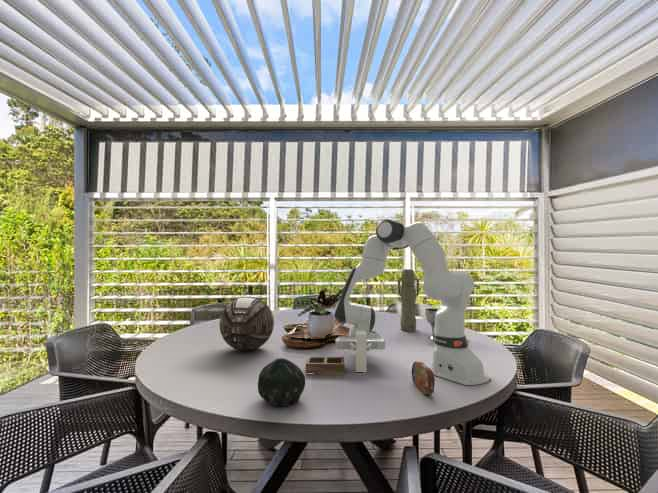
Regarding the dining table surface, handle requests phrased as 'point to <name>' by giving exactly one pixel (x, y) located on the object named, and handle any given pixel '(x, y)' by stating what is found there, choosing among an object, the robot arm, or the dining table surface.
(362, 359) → the cream rectangular block
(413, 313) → the stone pillar
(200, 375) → the dining table surface
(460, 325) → the robot arm
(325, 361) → the walnut rack
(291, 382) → the squash
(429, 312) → the wine glass
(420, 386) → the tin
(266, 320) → the sphere
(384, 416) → the dining table surface
